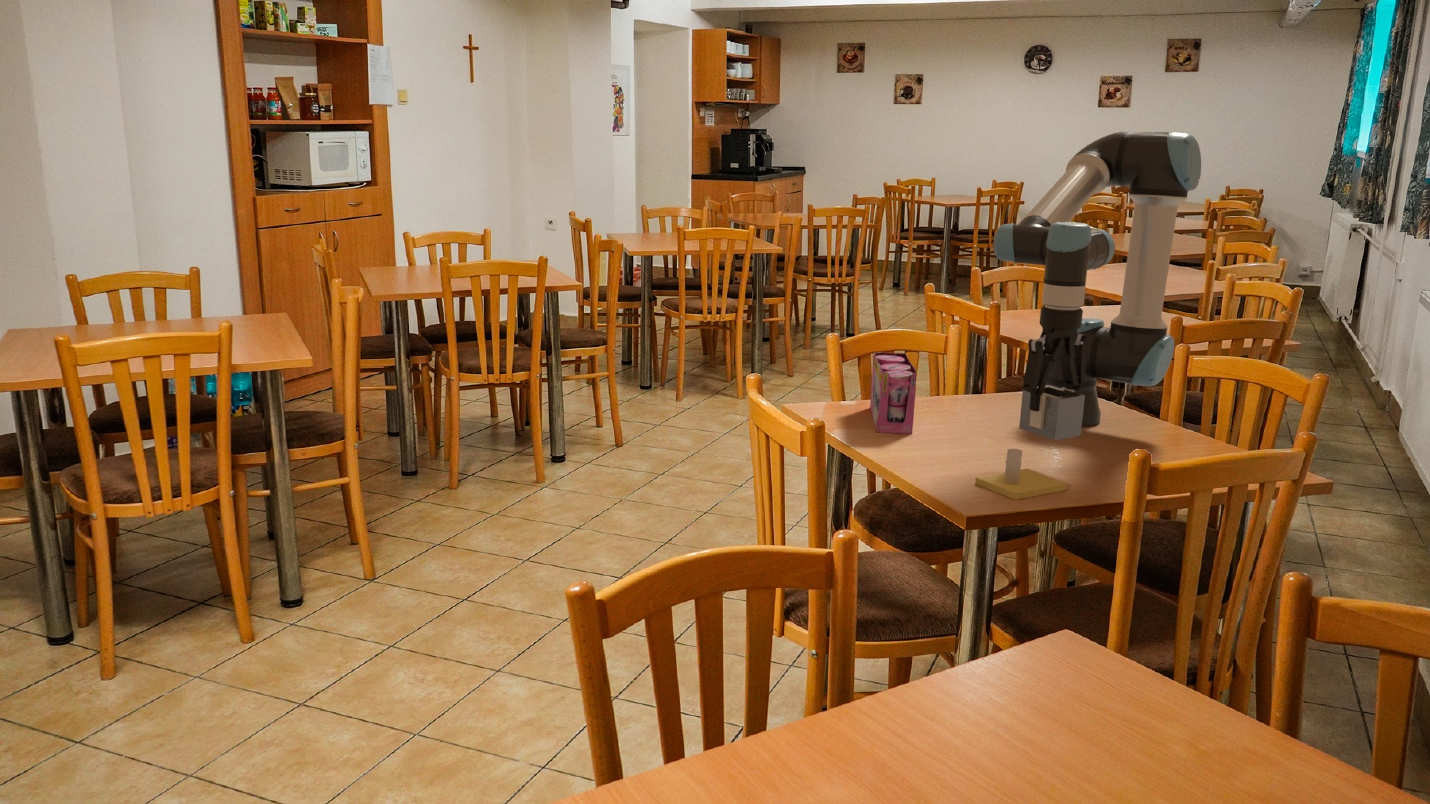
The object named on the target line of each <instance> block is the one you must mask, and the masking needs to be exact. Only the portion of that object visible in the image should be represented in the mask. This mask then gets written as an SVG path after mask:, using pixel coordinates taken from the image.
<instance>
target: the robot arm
mask: <svg viewBox="0 0 1430 804" xmlns="http://www.w3.org/2000/svg"><path fill="white" fill-rule="evenodd" d="M1201 175H1202V155H1201V148H1200V146H1199V143H1198V140H1197V139H1196V137H1194V136H1193V135H1192V134H1189V133H1185V132H1174V131H1168V132H1167V131H1164V132H1162V131H1159V132H1158V131H1155V132H1154V131H1153V132H1151V131H1150V132H1148V131H1118V132H1114V133H1111V134H1107V135H1105V136H1102V137H1100V138H1098V139H1096V140H1094V141H1092V142H1090V143H1089V144H1087V145H1086V146H1085V147H1083V148H1081V149H1080V150H1078V151H1077V153H1075V154H1074V156H1072V158H1071V159H1070V160H1069V161H1068V163H1067V165H1066V169H1065V172H1064V173H1063V175H1061V177H1060V178H1059V179H1058V180H1057V181H1056V182H1055V183H1054V184H1053V186H1052V187H1051V188H1050V189H1049V190H1048V191H1047V192H1046V193H1045V194H1044V195H1043V196H1042V198H1041V199H1040V200H1039V201H1038V202H1037V203H1036V204H1035V206H1033V207H1032V208H1031V210H1030V211H1029V212H1028V213H1027V214H1026V215H1025V216H1024V218H1023V219H1022V220H1021V221H1020V222H1019V223H1018V224H1015V223H1014V222H1013V223H1012V222H1011V223H1005V224H1004V223H1003V224H1001V225H1000V226H999V227H998V228H997V230H996V232H995V234H994V237H993V238H994V239H993V250H994V255H995V257H996V258H997V259H998V260H999V261H1003V262H1009V263H1014V264H1024V265H1025V264H1027V265H1035V266H1044V274H1043V275H1044V276H1043V286H1042V298H1041V303H1042V304H1043V306H1042V307H1041V308H1040V313H1039V314H1040V315H1039V325H1040V326H1041V328H1042V331H1041V334H1040V336H1039V338H1037V339H1032V338H1030V339H1029V340H1028V342H1027V344H1028V345H1027V347H1028V355H1027V361H1026V366H1025V372H1024V376H1023V378H1024V379H1023V383H1022V391H1023V390H1024V391H1027V392H1030V394H1031V396H1030V407H1029V408H1030V410H1031V413H1030V424H1029V425H1030V426H1033V427H1036V428H1039V429H1042V428H1043V421H1044V411H1045V400H1046V395H1043V392H1044V389H1045V386H1046V385H1051V386H1054V387H1058V388H1061V389H1065V390H1068V391H1072V392H1075V393H1079V394H1083V395H1085V400H1084V409H1083V419H1082V427H1083V426H1094V425H1097V424H1099V423H1100V422H1101V414H1102V412H1101V411H1102V410H1101V409H1100V406H1099V405H1100V403H1099V398H1098V392H1097V379H1099V380H1104V381H1110V382H1111V381H1112V382H1118V383H1123V384H1124V383H1125V384H1130V385H1132V386H1134V387H1135V386H1143V387H1153V386H1154V387H1155V386H1156V385H1157V384H1159V383H1160V382H1161V381H1162V380H1163V379H1164V377H1165V375H1166V374H1167V371H1168V370H1169V368H1170V365H1171V362H1172V359H1173V357H1174V356H1173V355H1174V353H1175V352H1174V351H1175V338H1174V337H1173V336H1171V335H1170V334H1168V325H1167V323H1166V322H1165V321H1164V320H1163V318H1162V314H1163V309H1164V301H1165V295H1166V288H1167V287H1166V286H1167V281H1168V277H1169V276H1168V275H1169V267H1170V261H1171V255H1172V248H1173V247H1172V246H1173V242H1174V241H1173V240H1174V233H1175V227H1176V221H1177V214H1178V208H1179V206H1180V205H1181V204H1183V203H1184V202H1185V201H1186V200H1188V199H1187V198H1188V192H1190V191H1194V190H1196V189H1197V188H1198V186H1199V182H1200V179H1201ZM1109 187H1122V188H1129V191H1128V197H1129V198H1130V199H1131V201H1133V203H1134V209H1133V216H1132V222H1131V223H1132V224H1131V231H1130V236H1129V244H1128V252H1127V258H1126V266H1125V271H1124V273H1125V274H1124V280H1123V287H1122V294H1121V295H1122V296H1121V302H1120V308H1119V314H1118V315H1117V316H1115V317H1114V318H1113V319H1112V320H1110V326H1109V327H1105V323H1104V320H1103V319H1100V318H1083V313H1084V310H1083V309H1082V307H1083V306H1084V305H1085V295H1086V286H1087V285H1086V284H1087V274H1088V271H1090V270H1096V269H1099V268H1102V267H1103V266H1105V265H1107V264H1108V263H1109V262H1110V261H1111V260H1112V258H1113V256H1114V255H1115V251H1116V243H1115V240H1114V238H1113V237H1112V235H1111V234H1110V233H1109V232H1107V231H1106V230H1104V229H1101V228H1100V229H1099V228H1091V225H1089V224H1087V223H1084V222H1072V220H1073V219H1074V217H1075V216H1076V215H1077V214H1078V213H1079V212H1080V211H1081V209H1083V207H1084V206H1085V205H1086V204H1087V203H1088V201H1089V200H1090V199H1091V198H1092V196H1094V195H1097V194H1099V193H1101V192H1103V190H1105V189H1106V188H1109ZM1037 387H1038V388H1037Z"/></svg>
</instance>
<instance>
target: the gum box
mask: <svg viewBox="0 0 1430 804" xmlns="http://www.w3.org/2000/svg"><path fill="white" fill-rule="evenodd" d="M870 385H871V388H870V390H871V391H870V402H869V408H870V413H871V416H872V419H873V423H874V426H875V429H876V432H877V433H885V434H886V433H888V434H890V433H891V434H904V435H905V434H906V435H912V434H913V432H914V431H913V428H914V417H915V405H916V404H915V401H916V389H917V387H916V386H917V369H916V368H915V367H914V365H913V364H912V363H911V361H910V359H909V356H908V354H907V353H905V352H904V353H903V352H883V351H881V352H879V351H877V352H876V351H874V352H873V356H872V372H871V384H870Z"/></svg>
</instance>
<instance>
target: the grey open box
mask: <svg viewBox="0 0 1430 804" xmlns="http://www.w3.org/2000/svg"><path fill="white" fill-rule="evenodd" d="M1037 388H1038V386H1037ZM1021 395H1022V396H1021V405H1020V417H1019V425H1018V426H1019V430H1021V431H1025V432H1028V433H1031V434H1033V435H1037V436H1040V437H1043V438H1045V439H1049V440H1052V441H1054V442H1055V441H1060V440H1065V439H1070V438H1075V437H1080V436H1081V435H1082V428H1083V426H1082V419H1083V409H1084V400H1085V395H1083V394H1079V393H1075V392H1072V391H1068V390H1065V389H1061V388H1058V387H1054V386H1051V385H1046V386H1045V389H1044V392H1043V395H1046V400H1045V411H1044V421H1043V428H1042V429H1039V428H1036V427H1033V426H1030V425H1029V424H1030V413H1031V410H1030V408H1029V407H1030V396H1031V394H1030V392H1027V391H1024V390H1023V389H1022V394H1021Z"/></svg>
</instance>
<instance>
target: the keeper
mask: <svg viewBox="0 0 1430 804" xmlns="http://www.w3.org/2000/svg"><path fill="white" fill-rule="evenodd" d="M1022 458H1023V450H1021V449H1017V448H1008V449H1007V452H1006V461H1005V469H1004V470H1005V472H999V473H994V474H993V473H992V474H987V475H983V476H976V477H975V483H974V484H975V485H977V486H980V487H983V488H985V489H987V490H990V491H992V492H995V493H997V494H1000V495H1002V496H1005V497H1008V498H1009V499H1012V500H1014V501H1015V500H1021V499H1026V498H1032V497H1038V496H1042V495H1048V494H1052V493H1057V492H1063V491H1067V490H1068V483H1067V482H1064V481H1061V480H1059V479H1056V478H1053V477H1050V476H1048V475H1045V474H1042V473H1039V472H1037V471H1034V470H1031V469H1029V468H1021V467H1022V466H1021V465H1022Z"/></svg>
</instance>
